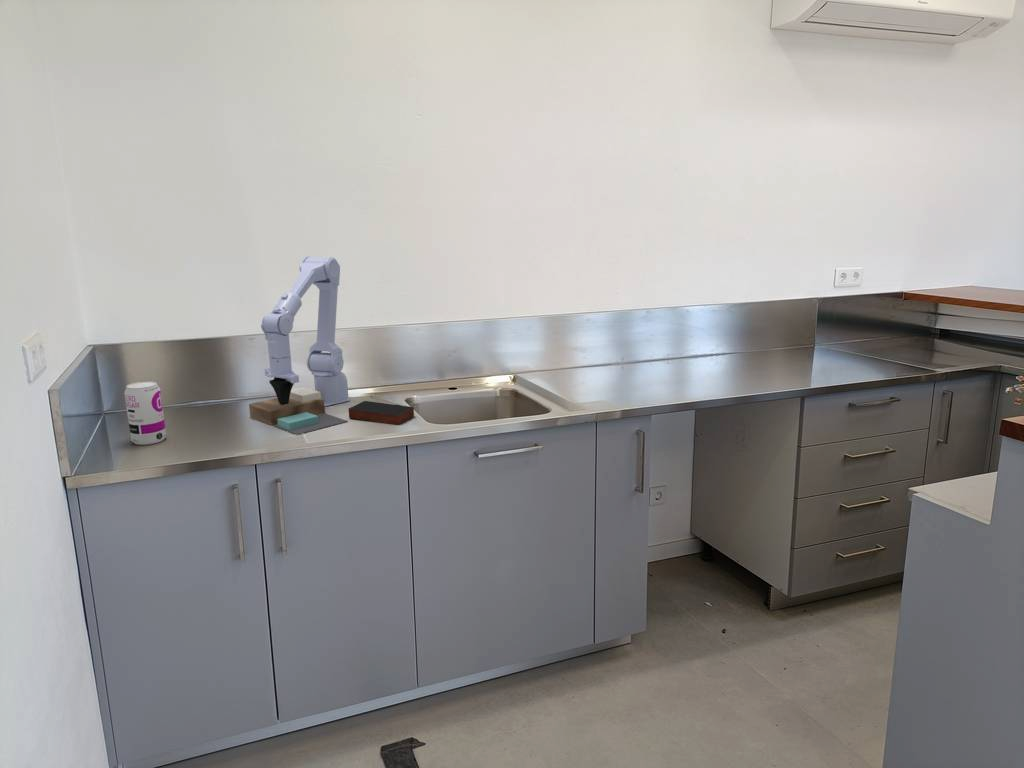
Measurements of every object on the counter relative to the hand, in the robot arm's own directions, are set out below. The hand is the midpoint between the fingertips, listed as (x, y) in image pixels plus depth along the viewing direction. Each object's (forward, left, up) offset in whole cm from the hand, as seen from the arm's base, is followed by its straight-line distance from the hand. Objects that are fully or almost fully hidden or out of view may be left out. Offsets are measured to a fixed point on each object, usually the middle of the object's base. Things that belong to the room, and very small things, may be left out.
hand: (284, 404), depth 204 cm
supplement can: (+33, -11, -5) cm, 35 cm away
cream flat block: (-9, -5, -1) cm, 10 cm away
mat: (-3, +8, -5) cm, 10 cm away
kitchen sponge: (-15, +19, -4) cm, 25 cm away
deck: (-3, -5, -5) cm, 8 cm away
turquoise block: (0, +7, -3) cm, 7 cm away
